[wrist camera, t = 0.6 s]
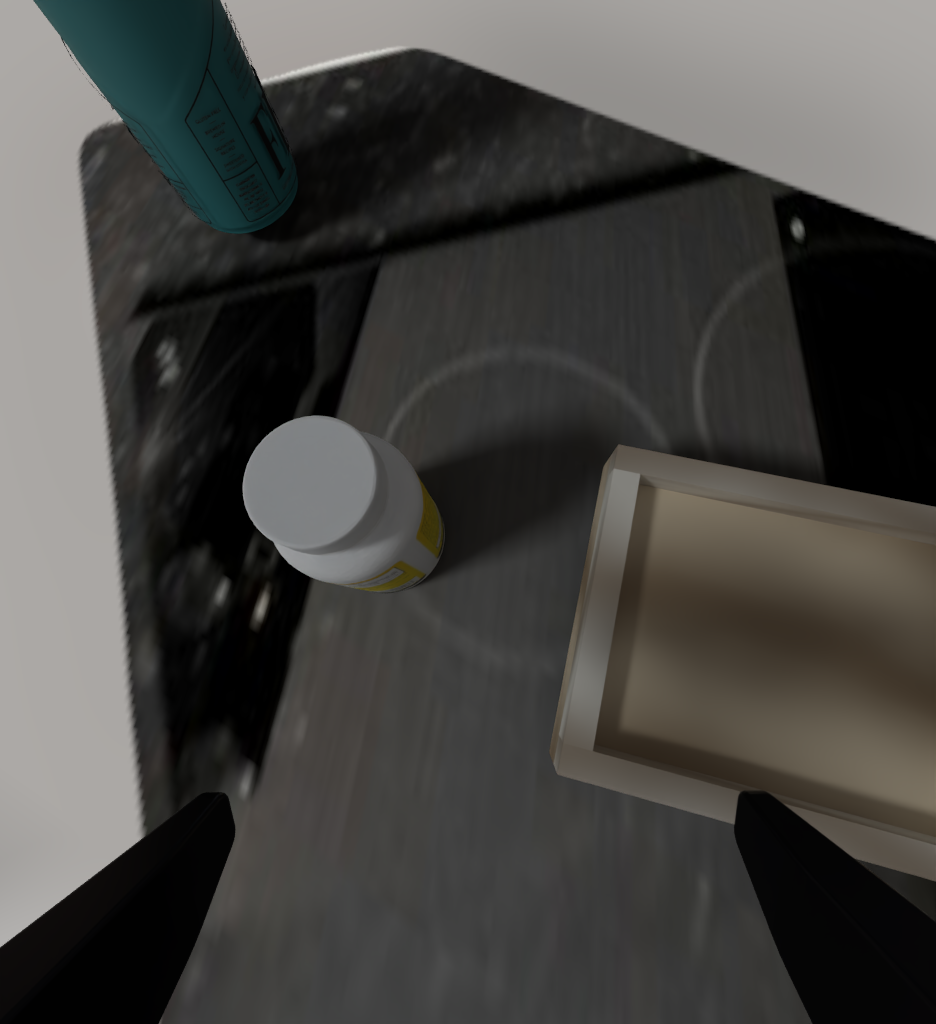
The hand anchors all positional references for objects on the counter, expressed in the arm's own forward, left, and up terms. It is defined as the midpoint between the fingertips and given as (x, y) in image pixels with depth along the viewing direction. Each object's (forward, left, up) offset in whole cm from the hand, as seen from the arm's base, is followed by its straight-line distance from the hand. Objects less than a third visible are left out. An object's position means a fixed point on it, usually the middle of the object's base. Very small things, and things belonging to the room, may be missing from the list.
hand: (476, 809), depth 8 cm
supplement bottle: (+6, +6, -13) cm, 16 cm away
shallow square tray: (+5, -10, -13) cm, 17 cm away
